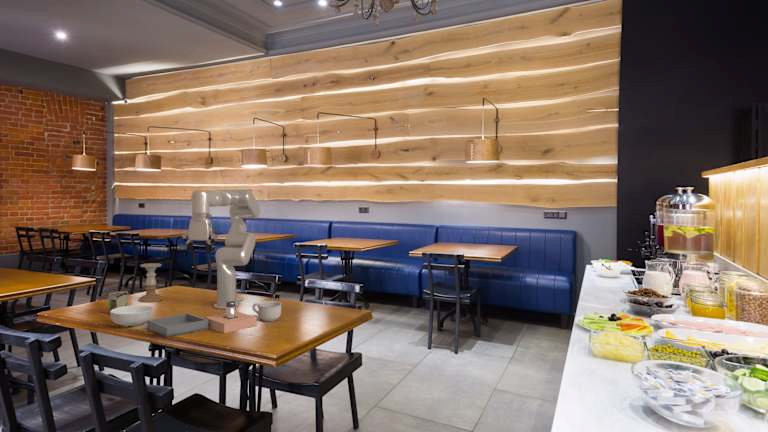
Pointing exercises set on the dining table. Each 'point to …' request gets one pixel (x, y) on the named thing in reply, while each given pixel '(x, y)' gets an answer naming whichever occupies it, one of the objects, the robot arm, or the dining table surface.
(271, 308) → the teacup
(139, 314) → the cereal bowl
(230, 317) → the pin
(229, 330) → the hitch block
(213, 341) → the dining table surface
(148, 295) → the candle holder
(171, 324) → the tray
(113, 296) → the food container
